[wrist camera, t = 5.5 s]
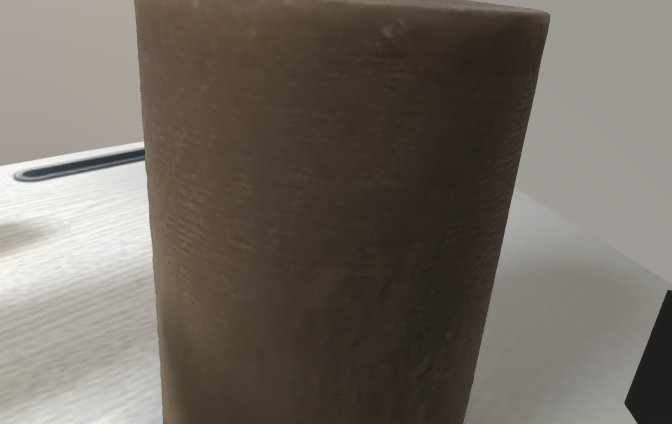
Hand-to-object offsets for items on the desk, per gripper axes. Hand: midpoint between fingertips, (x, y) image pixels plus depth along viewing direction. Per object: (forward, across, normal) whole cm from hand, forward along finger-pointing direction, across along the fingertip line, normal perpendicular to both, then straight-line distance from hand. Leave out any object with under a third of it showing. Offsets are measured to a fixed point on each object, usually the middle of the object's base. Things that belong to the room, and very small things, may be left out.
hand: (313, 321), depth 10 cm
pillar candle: (+5, 0, -8) cm, 10 cm away
